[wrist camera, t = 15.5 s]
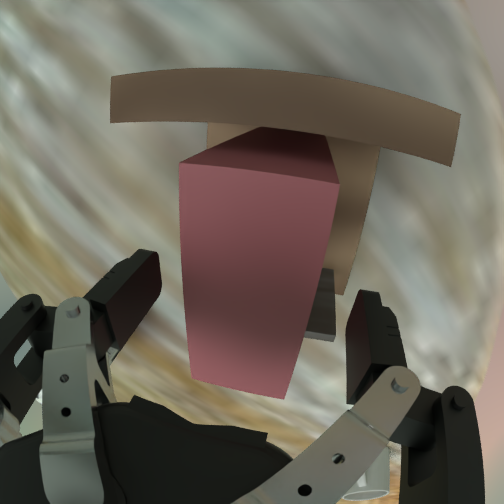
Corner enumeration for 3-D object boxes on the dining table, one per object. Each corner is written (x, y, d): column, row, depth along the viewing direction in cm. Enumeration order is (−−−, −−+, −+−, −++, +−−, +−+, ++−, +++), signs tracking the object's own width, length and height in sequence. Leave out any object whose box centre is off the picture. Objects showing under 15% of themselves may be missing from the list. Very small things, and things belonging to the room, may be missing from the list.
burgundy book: (263, 125, 20) (179, 163, 8) (324, 134, 19) (339, 184, 7) (252, 245, 25) (191, 378, 13) (304, 254, 24) (284, 399, 12)
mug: (375, 460, 45) (373, 500, 36) (335, 457, 46) (330, 500, 37) (403, 440, 39) (404, 486, 31) (359, 438, 40) (357, 487, 32)
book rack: (215, 78, 20) (111, 65, 9) (383, 100, 18) (462, 101, 7) (208, 263, 28) (146, 363, 17) (342, 287, 26) (346, 407, 15)
